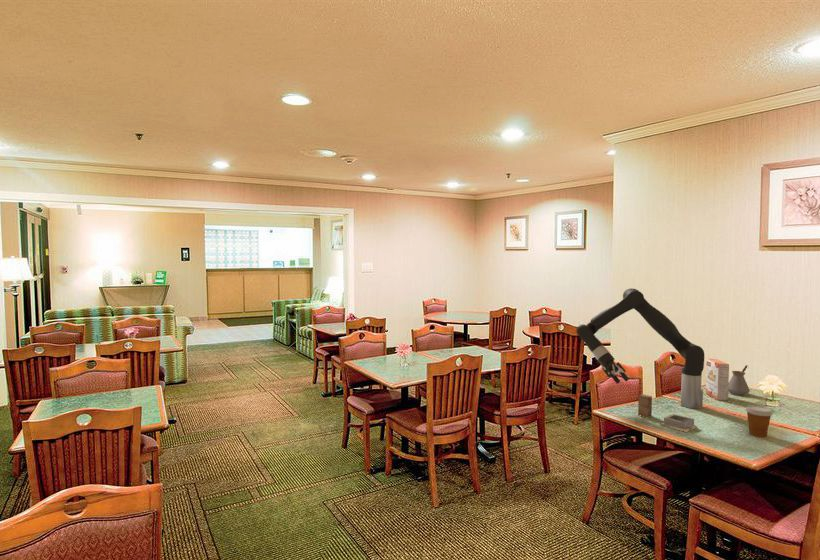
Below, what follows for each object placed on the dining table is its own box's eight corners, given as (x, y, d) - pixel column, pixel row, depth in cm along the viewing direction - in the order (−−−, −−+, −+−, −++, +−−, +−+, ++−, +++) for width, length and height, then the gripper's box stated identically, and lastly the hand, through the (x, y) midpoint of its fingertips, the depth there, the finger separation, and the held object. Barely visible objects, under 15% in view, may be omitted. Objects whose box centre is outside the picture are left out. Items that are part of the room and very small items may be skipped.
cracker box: (704, 393, 279) (706, 358, 279) (715, 394, 279) (717, 358, 278) (716, 400, 266) (718, 363, 265) (728, 401, 265) (729, 363, 264)
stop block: (642, 413, 242) (643, 394, 241) (651, 416, 238) (652, 396, 238) (638, 415, 239) (638, 395, 239) (647, 417, 235) (647, 397, 235)
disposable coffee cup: (762, 440, 207) (763, 412, 206) (740, 432, 215) (741, 406, 215) (776, 437, 210) (777, 410, 210) (753, 430, 219) (754, 404, 219)
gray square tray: (671, 420, 231) (672, 413, 231) (696, 427, 222) (696, 419, 222) (661, 425, 224) (661, 417, 224) (686, 432, 215) (686, 424, 215)
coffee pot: (745, 397, 272) (746, 371, 271) (722, 393, 281) (723, 368, 280) (757, 391, 285) (758, 366, 285) (735, 387, 294) (736, 363, 294)
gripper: (600, 353, 249) (621, 379, 241) (615, 350, 258) (635, 375, 249) (591, 361, 254) (610, 387, 245) (605, 358, 262) (625, 383, 254)
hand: (623, 381), depth 247 cm, fingers open, 8 cm apart
